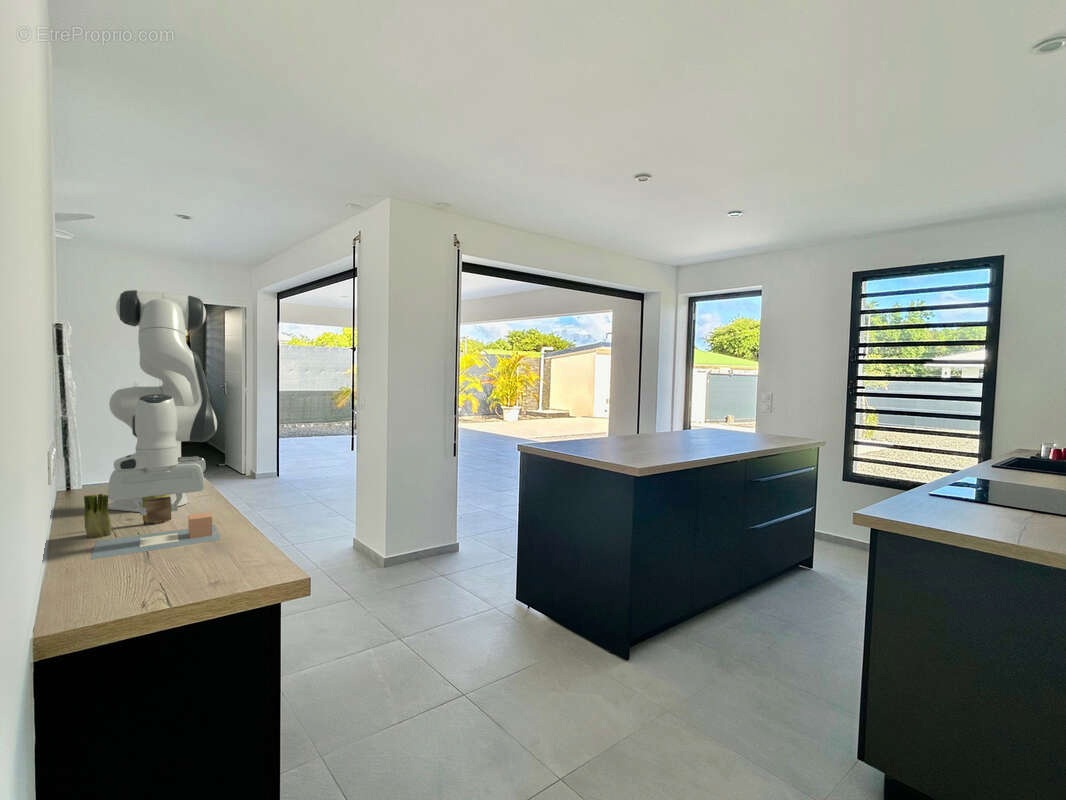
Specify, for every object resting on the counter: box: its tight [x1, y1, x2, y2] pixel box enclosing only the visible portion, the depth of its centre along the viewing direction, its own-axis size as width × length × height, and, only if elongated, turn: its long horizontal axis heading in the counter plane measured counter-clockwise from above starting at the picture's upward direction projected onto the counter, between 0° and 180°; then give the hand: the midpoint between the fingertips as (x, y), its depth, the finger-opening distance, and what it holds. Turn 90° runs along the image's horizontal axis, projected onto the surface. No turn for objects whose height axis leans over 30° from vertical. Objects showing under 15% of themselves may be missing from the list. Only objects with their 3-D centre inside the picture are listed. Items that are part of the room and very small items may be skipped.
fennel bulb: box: [83, 493, 112, 539], centre depth 141 cm, size 6×5×12 cm
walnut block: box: [147, 497, 172, 523], centre depth 137 cm, size 5×5×5 cm
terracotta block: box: [188, 512, 213, 539], centre depth 143 cm, size 5×5×5 cm
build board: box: [90, 524, 222, 560], centre depth 138 cm, size 26×16×1 cm, turn 125°
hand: (159, 512), depth 137 cm, fingers closed on walnut block, 5 cm apart
